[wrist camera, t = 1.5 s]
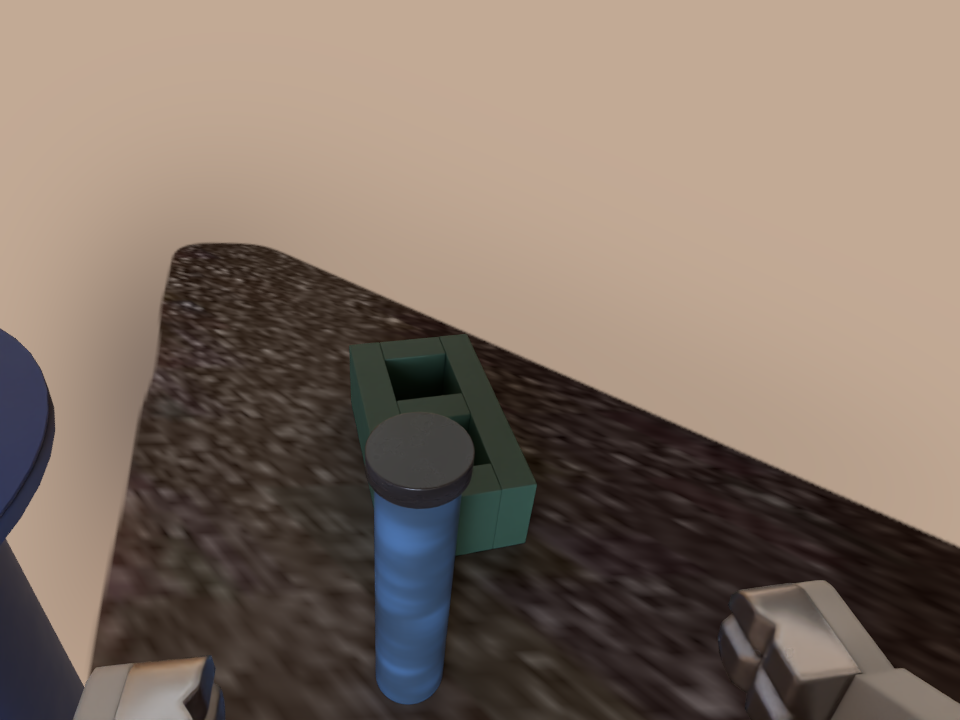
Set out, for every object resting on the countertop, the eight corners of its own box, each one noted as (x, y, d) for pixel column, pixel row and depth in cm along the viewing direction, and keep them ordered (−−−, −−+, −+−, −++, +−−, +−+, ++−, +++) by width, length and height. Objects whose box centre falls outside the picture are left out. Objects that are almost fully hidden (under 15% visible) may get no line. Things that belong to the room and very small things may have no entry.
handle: (376, 720, 30) (374, 498, 21) (363, 644, 33) (357, 418, 24) (457, 700, 31) (488, 479, 22) (438, 627, 34) (458, 405, 25)
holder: (386, 569, 37) (387, 508, 34) (351, 402, 47) (349, 344, 44) (525, 543, 39) (537, 484, 36) (461, 388, 50) (466, 333, 47)
